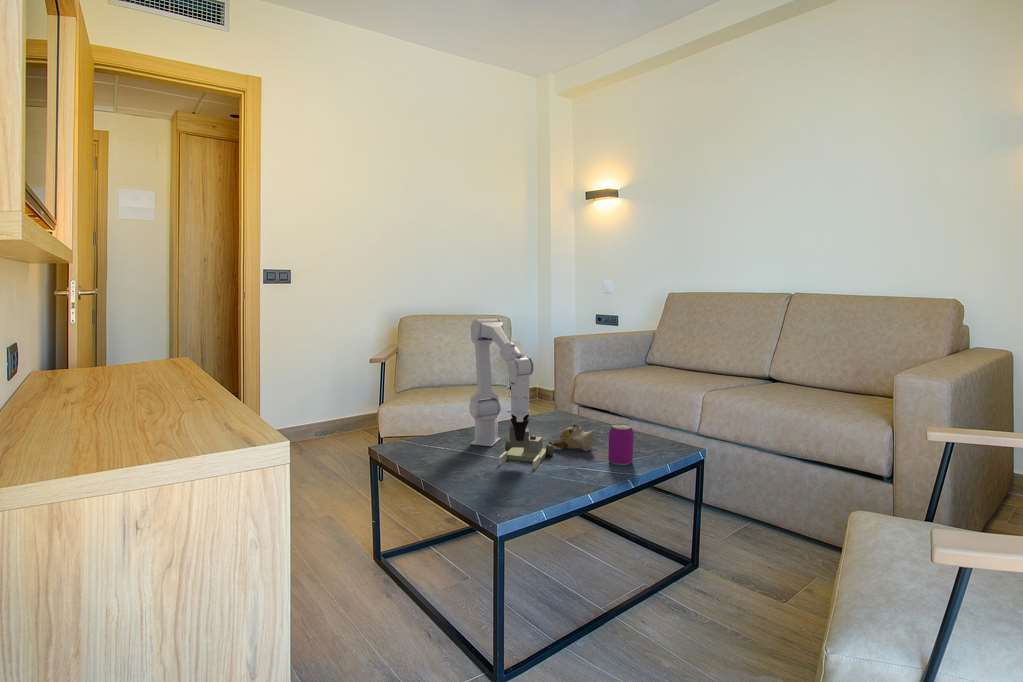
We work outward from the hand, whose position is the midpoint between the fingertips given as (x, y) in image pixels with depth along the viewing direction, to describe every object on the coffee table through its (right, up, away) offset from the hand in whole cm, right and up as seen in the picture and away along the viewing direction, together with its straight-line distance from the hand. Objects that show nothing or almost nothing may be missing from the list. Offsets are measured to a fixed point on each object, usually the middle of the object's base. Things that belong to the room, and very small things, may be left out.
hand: (519, 438), depth 179 cm
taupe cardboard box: (0, -2, 0) cm, 2 cm away
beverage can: (+32, -8, +3) cm, 33 cm away
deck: (+1, -8, +6) cm, 10 cm away
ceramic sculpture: (+19, -7, +17) cm, 26 cm away
